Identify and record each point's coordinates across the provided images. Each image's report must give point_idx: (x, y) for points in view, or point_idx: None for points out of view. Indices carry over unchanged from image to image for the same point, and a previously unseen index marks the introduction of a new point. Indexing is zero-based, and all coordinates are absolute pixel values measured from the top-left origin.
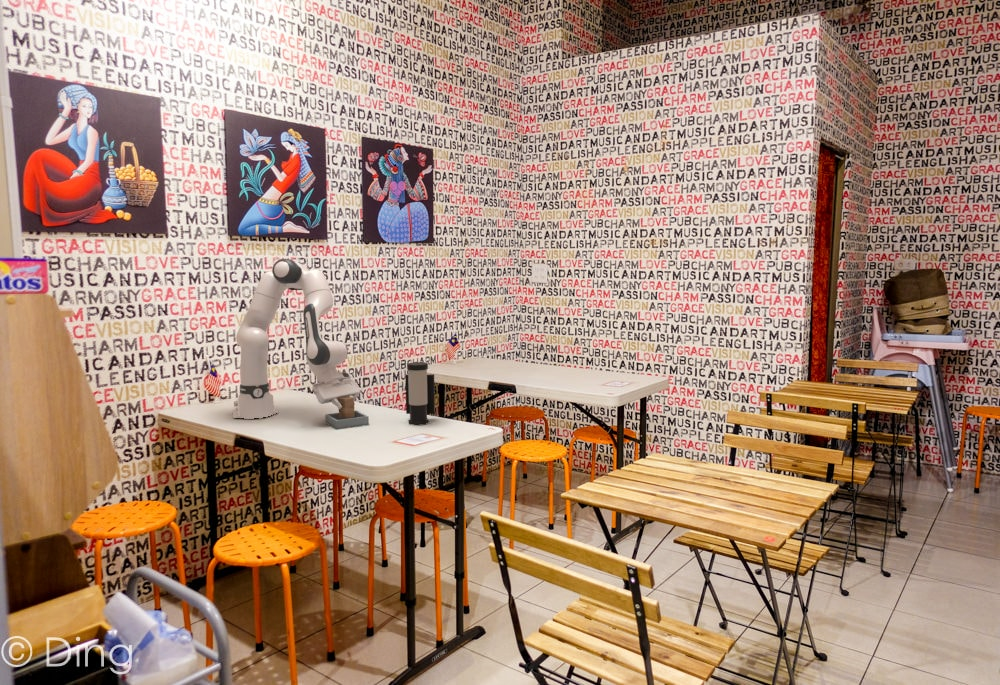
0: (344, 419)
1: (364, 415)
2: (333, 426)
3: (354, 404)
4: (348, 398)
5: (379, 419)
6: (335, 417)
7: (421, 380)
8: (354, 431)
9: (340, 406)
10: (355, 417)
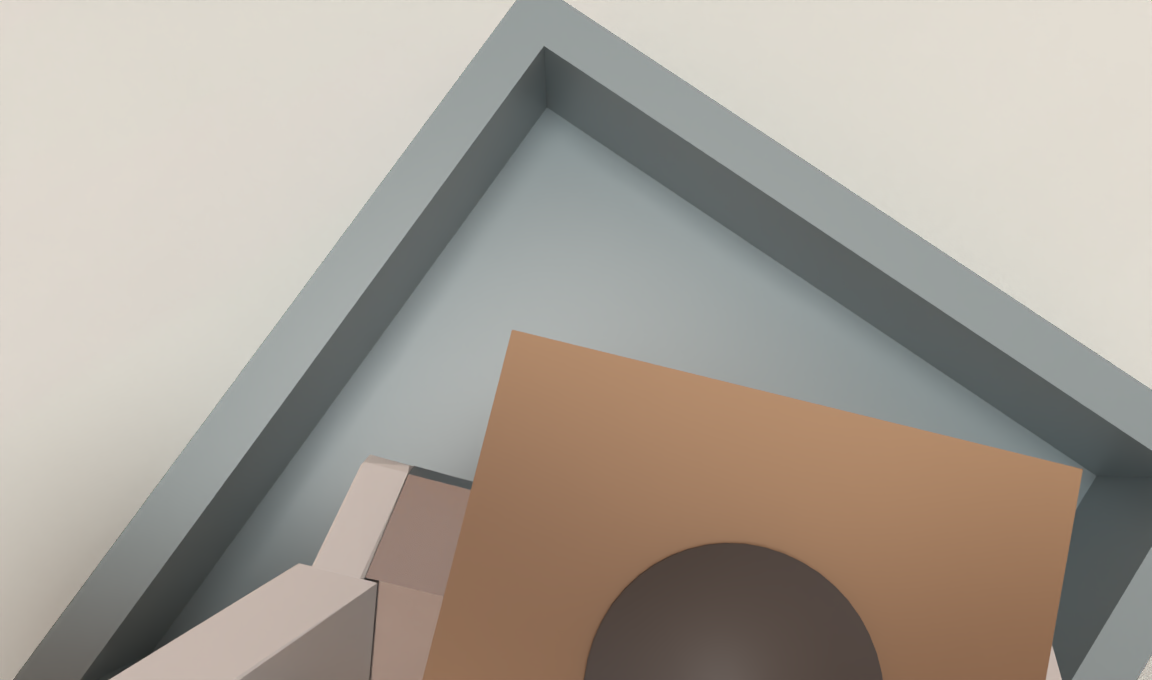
0: (1054, 348)
1: (471, 134)
2: None
3: (382, 461)
4: (823, 462)
5: (19, 133)
6: None
7: None
8: (1098, 29)
9: None
10: None
